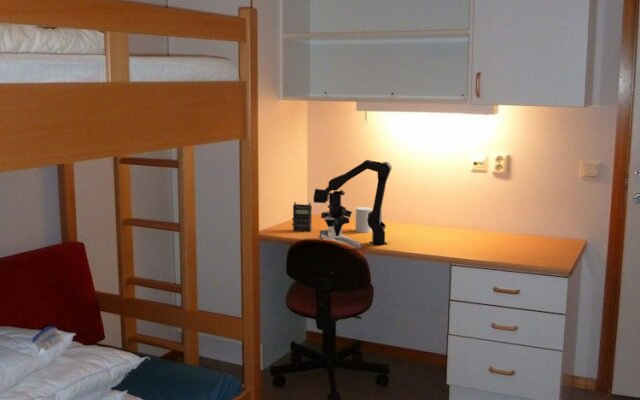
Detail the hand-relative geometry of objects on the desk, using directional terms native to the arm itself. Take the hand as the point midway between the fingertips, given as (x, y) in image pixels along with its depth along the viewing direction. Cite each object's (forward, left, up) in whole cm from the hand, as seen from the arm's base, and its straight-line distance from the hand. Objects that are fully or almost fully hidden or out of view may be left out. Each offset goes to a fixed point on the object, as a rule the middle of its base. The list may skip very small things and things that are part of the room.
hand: (334, 235), depth 351 cm
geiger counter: (+28, +5, -3) cm, 29 cm away
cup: (+14, -24, -3) cm, 28 cm away
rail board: (-5, 0, -3) cm, 6 cm away
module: (0, 0, -1) cm, 1 cm away
